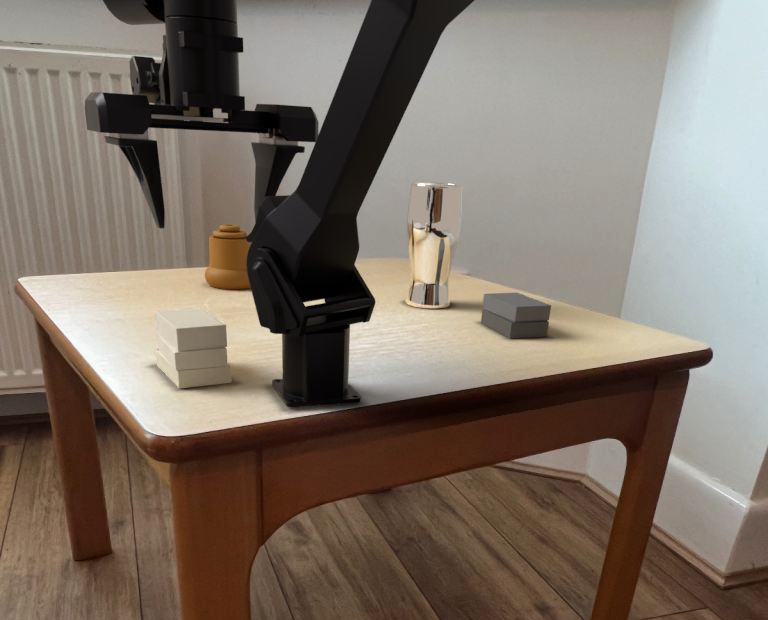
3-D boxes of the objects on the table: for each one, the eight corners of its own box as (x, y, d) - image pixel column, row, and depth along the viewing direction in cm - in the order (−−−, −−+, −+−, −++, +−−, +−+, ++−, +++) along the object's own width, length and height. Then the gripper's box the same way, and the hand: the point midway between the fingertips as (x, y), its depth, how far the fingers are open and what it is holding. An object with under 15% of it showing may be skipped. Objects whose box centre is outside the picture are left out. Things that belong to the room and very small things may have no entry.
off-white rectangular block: (227, 347, 66) (226, 324, 65) (178, 351, 64) (176, 328, 63) (202, 328, 71) (201, 307, 70) (156, 332, 69) (154, 310, 68)
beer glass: (393, 304, 100) (400, 182, 93) (415, 296, 106) (423, 181, 99) (440, 312, 97) (451, 187, 90) (460, 303, 103) (472, 185, 96)
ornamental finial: (267, 283, 108) (243, 292, 102) (221, 278, 110) (195, 286, 104) (266, 225, 105) (241, 230, 98) (218, 220, 107) (191, 225, 100)
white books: (232, 383, 67) (231, 348, 66) (178, 389, 65) (175, 353, 63) (206, 360, 73) (204, 328, 71) (155, 365, 70) (152, 332, 69)
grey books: (548, 336, 88) (553, 306, 87) (509, 338, 87) (513, 307, 85) (516, 321, 95) (520, 292, 93) (479, 322, 93) (482, 293, 92)
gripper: (270, 39, 70) (272, 215, 78) (60, 15, 62) (85, 216, 69) (322, 32, 62) (319, 230, 69) (88, 3, 53) (113, 234, 60)
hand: (211, 227), depth 67 cm, fingers open, 9 cm apart
